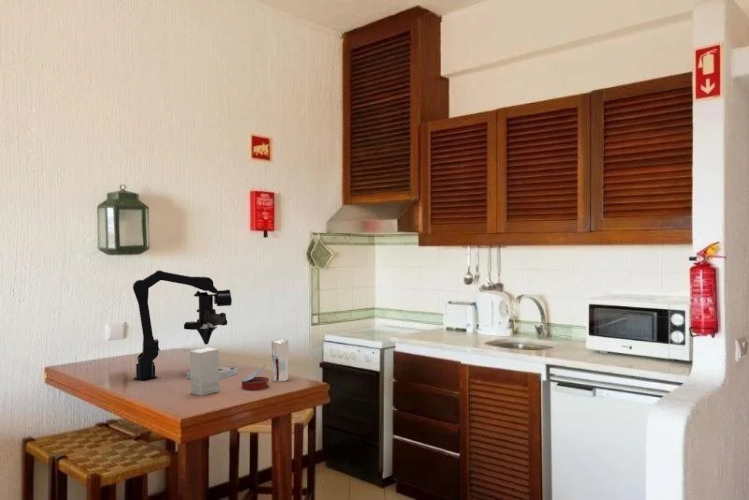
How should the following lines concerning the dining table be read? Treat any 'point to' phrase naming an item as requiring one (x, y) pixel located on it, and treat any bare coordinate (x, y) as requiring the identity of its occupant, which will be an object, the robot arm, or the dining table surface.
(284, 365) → the white tall container
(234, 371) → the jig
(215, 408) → the dining table surface
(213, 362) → the skincare box
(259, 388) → the canned food
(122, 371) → the dining table surface
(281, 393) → the dining table surface
